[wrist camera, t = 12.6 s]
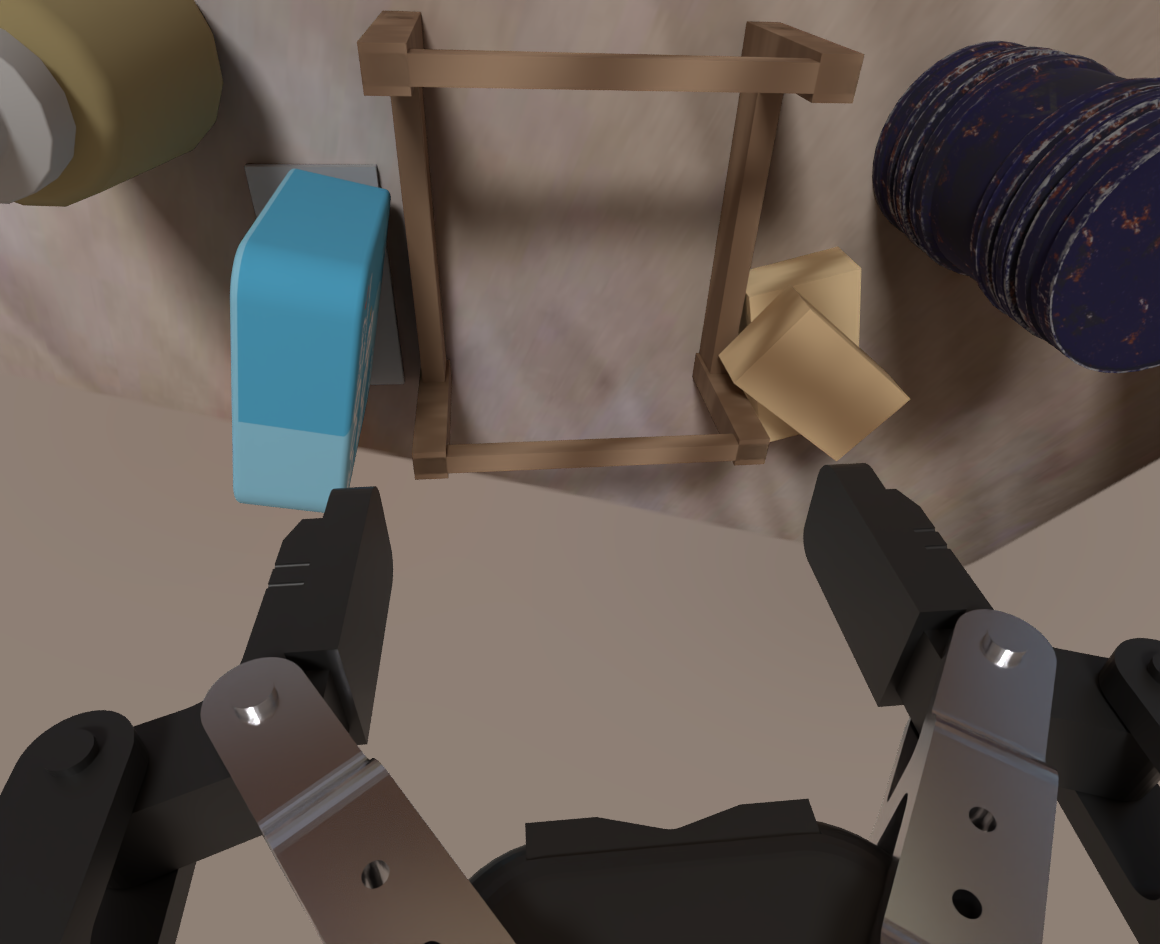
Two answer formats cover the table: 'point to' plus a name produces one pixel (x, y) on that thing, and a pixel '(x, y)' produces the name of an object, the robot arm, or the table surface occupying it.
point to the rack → (761, 77)
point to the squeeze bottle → (99, 93)
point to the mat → (387, 337)
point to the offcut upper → (811, 375)
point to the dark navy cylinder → (1036, 193)
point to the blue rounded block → (304, 338)
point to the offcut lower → (820, 282)
